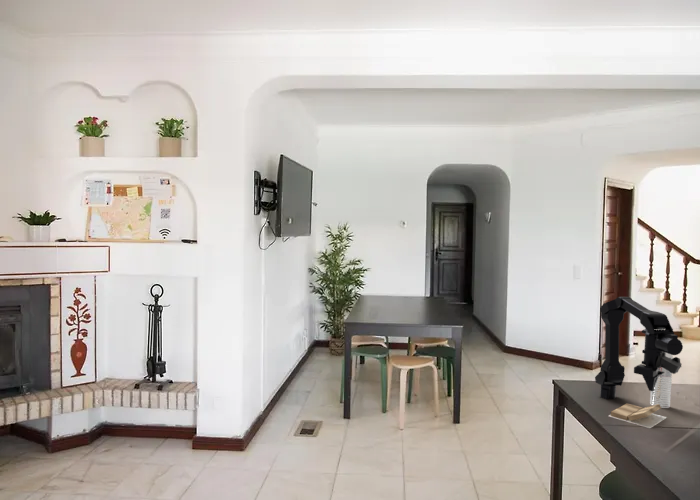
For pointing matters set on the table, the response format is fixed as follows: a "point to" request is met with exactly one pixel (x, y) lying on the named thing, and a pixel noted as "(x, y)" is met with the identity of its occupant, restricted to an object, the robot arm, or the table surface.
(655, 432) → the table surface
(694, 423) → the table surface
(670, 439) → the table surface
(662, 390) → the water bottle
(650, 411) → the raised plank
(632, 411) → the laid plank
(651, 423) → the board
